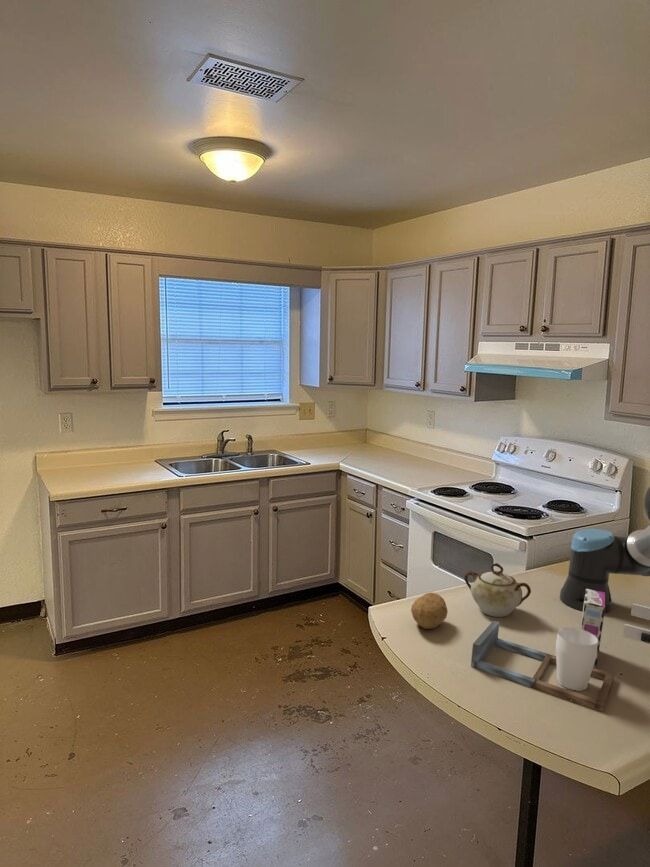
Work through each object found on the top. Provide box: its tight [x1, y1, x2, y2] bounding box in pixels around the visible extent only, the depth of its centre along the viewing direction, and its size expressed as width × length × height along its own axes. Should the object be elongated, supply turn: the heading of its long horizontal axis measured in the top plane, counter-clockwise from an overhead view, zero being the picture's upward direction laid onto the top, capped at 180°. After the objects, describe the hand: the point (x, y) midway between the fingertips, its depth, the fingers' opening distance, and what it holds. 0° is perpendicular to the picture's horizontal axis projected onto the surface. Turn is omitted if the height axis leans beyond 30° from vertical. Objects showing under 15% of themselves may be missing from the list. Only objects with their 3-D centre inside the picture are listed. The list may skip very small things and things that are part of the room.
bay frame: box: [470, 620, 615, 713], centre depth 144 cm, size 30×16×6 cm, turn 56°
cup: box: [555, 626, 598, 692], centre depth 140 cm, size 9×9×12 cm
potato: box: [410, 592, 449, 630], centre depth 166 cm, size 10×14×8 cm
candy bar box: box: [579, 589, 606, 669], centre depth 153 cm, size 11×5×16 cm, turn 155°
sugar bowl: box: [464, 562, 532, 618], centre depth 177 cm, size 20×15×15 cm
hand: (627, 619), depth 132 cm, fingers open, 13 cm apart
